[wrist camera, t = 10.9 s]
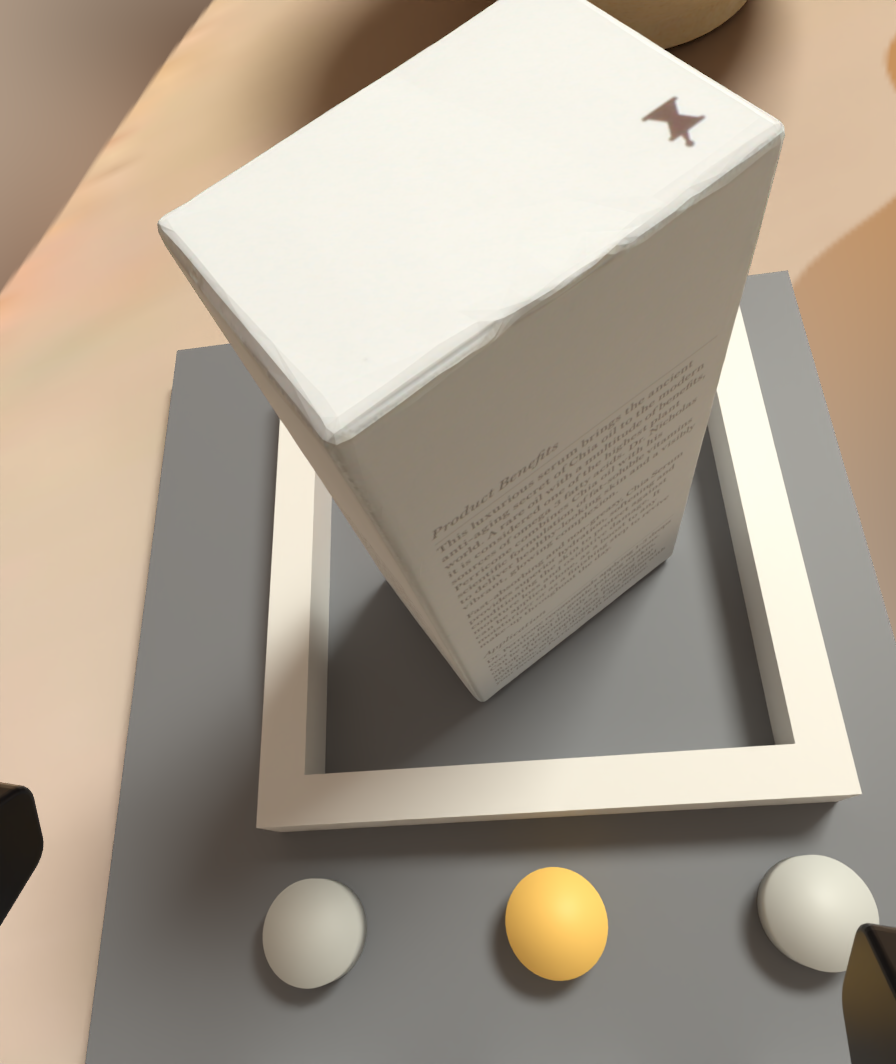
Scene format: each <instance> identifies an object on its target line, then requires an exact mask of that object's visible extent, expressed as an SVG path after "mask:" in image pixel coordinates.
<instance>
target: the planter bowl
mask: <svg viewBox="0 0 896 1064" xmlns="http://www.w3.org/2000/svg"><path fill="white" fill-rule="evenodd" d="M587 1H588V2H590V3H591V4H593V5H595V6H596V7H598V8H599V9H601V10H603V11H604V12H606V13H607V14H609V15H610V16H612V17H614V18H615V19H617V20H618V21H620V22H622V23H623V24H625V25H626V26H628V27H630V28H631V29H633V30H635V31H636V32H638V33H639V34H641V35H643V36H644V37H646V38H647V39H649V40H650V41H652V42H653V43H655V44H656V45H658V46H659V47H661V48H663V49H666V48H670V47H674V46H677V45H680V44H683V43H686V42H689V41H691V40H693V39H696V38H698V37H700V36H702V35H704V34H706V33H708V32H710V31H712V30H713V29H715V28H717V27H718V26H720V25H721V24H723V23H724V22H725V21H727V20H728V19H729V18H731V17H732V16H733V15H734V14H735V13H736V12H737V11H738V10H739V9H740V8H741V7H742V6H743V5H744V4H745V3H746V1H747V0H587Z"/></svg>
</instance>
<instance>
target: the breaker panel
mask: <svg viewBox="0 0 896 1064" xmlns="http://www.w3.org/2000/svg"><path fill="white" fill-rule="evenodd" d="M864 923H873V924H879V925H885V926H891V927H896V642H895V639H894V635H893V632H892V629H891V625H890V622H889V618H888V615H887V611H886V608H885V605H884V601H883V597H882V594H881V591H880V587H879V584H878V580H877V577H876V574H875V570H874V566H873V563H872V560H871V556H870V553H869V549H868V546H867V542H866V539H865V536H864V533H863V529H862V525H861V522H860V518H859V515H858V511H857V508H856V504H855V501H854V498H853V494H852V491H851V487H850V484H849V480H848V477H847V473H846V470H845V467H844V463H843V460H842V456H841V453H840V449H839V446H838V442H837V439H836V436H835V432H834V429H833V425H832V422H831V418H830V415H829V412H828V408H827V405H826V401H825V398H824V394H823V391H822V388H821V384H820V381H819V377H818V374H817V370H816V367H815V363H814V360H813V356H812V353H811V350H810V346H809V343H808V339H807V336H806V332H805V329H804V325H803V322H802V319H801V315H800V312H799V308H798V305H797V301H796V298H795V295H794V291H793V287H792V284H791V281H790V277H789V274H788V271H781V272H773V273H765V274H758V275H750V276H747V280H746V283H745V287H744V290H743V294H742V298H741V301H740V305H739V308H738V312H737V316H736V319H735V323H734V327H733V330H732V334H731V337H730V341H729V345H728V349H727V353H726V357H725V361H724V364H723V367H722V371H721V375H720V379H719V383H718V386H717V390H716V394H715V397H714V401H713V405H712V408H711V412H710V416H709V420H708V423H707V427H706V431H705V434H704V438H703V441H702V445H701V449H700V453H699V456H698V460H697V464H696V468H695V471H694V476H693V479H692V483H691V487H690V491H689V495H688V499H687V503H686V506H685V510H684V514H683V517H682V521H681V524H680V528H679V532H678V535H677V539H676V543H675V546H674V550H673V553H672V555H671V556H670V557H669V558H668V559H666V560H665V561H663V562H662V563H661V564H659V565H658V566H657V567H656V568H654V569H653V570H652V571H651V572H649V573H648V574H647V575H645V576H644V577H643V578H642V579H640V580H639V581H638V582H637V583H635V584H634V585H633V586H631V587H630V588H629V589H628V590H626V591H625V592H624V593H623V594H621V595H620V596H619V597H618V598H616V599H615V600H614V601H613V602H611V603H610V604H609V605H608V606H606V607H605V608H604V609H602V610H601V611H600V612H599V613H597V614H596V615H595V616H593V617H592V618H591V619H589V620H588V621H587V622H586V623H584V624H583V625H582V626H581V627H580V628H578V629H577V630H576V631H575V632H573V633H572V634H571V635H569V636H568V637H567V638H565V639H564V640H563V641H562V642H560V643H559V644H558V645H556V646H555V647H554V648H553V649H551V650H550V651H549V652H548V653H546V654H545V655H544V656H543V657H541V658H540V659H539V660H537V661H536V662H535V663H533V664H532V665H531V666H530V667H528V668H527V669H526V670H524V671H523V672H522V673H521V674H519V675H518V676H517V677H516V678H514V679H513V680H512V681H510V682H509V683H508V684H507V685H505V686H504V687H503V688H501V689H500V690H499V691H498V692H496V693H495V694H494V695H493V696H491V697H490V698H489V699H488V700H486V701H485V702H480V701H478V700H477V699H476V698H475V697H474V696H473V695H472V694H471V692H470V691H469V690H468V689H467V687H466V686H465V685H464V683H463V682H462V681H461V679H460V678H459V677H458V675H457V674H456V673H455V671H454V670H453V669H452V667H451V666H450V665H449V663H448V662H447V661H446V659H445V658H444V657H443V655H442V654H441V653H440V651H439V650H438V649H437V647H436V646H435V645H434V643H433V642H432V641H431V640H430V638H429V637H428V636H427V634H426V633H425V632H424V630H423V629H422V628H421V626H420V625H419V624H418V622H417V621H416V620H415V618H414V617H413V616H412V614H411V613H410V612H409V610H408V609H407V607H406V606H405V605H404V603H403V602H402V601H401V599H400V598H399V597H398V595H397V594H396V592H395V591H394V590H393V588H392V587H391V586H390V584H389V583H388V581H387V580H386V579H385V577H384V576H383V575H382V573H381V572H380V570H379V569H378V567H377V565H376V564H375V562H374V561H373V559H372V558H371V556H370V554H369V553H368V551H367V550H366V548H365V547H364V545H363V544H362V542H361V541H360V539H359V538H358V536H357V535H356V533H355V532H354V530H353V529H352V527H351V526H350V524H349V522H348V521H347V519H346V518H345V516H344V515H343V513H342V512H341V510H340V509H339V507H338V506H337V504H336V503H335V501H334V500H333V498H332V496H331V495H330V493H329V492H328V490H327V489H326V487H325V486H324V484H323V483H322V481H321V480H320V478H319V477H318V475H317V474H316V472H315V471H314V469H313V468H312V466H311V464H310V463H309V462H308V460H307V459H306V457H305V456H304V454H303V453H302V451H301V450H300V448H299V447H298V445H297V444H296V442H295V441H294V439H293V438H292V436H291V434H290V433H289V431H288V430H287V428H286V427H285V425H284V424H283V423H282V421H281V420H280V418H279V417H278V415H277V414H276V412H275V411H274V409H273V408H272V406H271V405H270V403H269V402H268V400H267V398H266V397H265V395H264V394H263V392H262V391H261V389H260V388H259V386H258V385H257V383H256V382H255V380H254V379H253V377H252V376H251V374H250V373H249V371H248V370H247V368H246V367H245V365H244V364H243V362H242V361H241V359H240V358H239V356H238V355H237V353H236V352H235V350H234V349H233V347H232V346H231V344H224V345H216V346H208V347H201V348H193V349H185V350H178V351H177V355H176V363H175V371H174V379H173V386H172V394H171V402H170V410H169V417H168V425H167V433H166V441H165V448H164V456H163V464H162V472H161V480H160V487H159V495H158V503H157V511H156V518H155V526H154V534H153V542H152V549H151V557H150V565H149V573H148V580H147V588H146V596H145V604H144V612H143V619H142V627H141V635H140V643H139V650H138V658H137V666H136V674H135V681H134V689H133V697H132V705H131V713H130V720H129V728H128V736H127V744H126V751H125V759H124V767H123V775H122V782H121V790H120V798H119V806H118V813H117V821H116V829H115V837H114V845H113V852H112V860H111V868H110V876H109V883H108V891H107V899H106V907H105V914H104V922H103V930H102V938H101V945H100V953H99V961H98V969H97V977H96V984H95V992H94V1000H93V1008H92V1015H91V1023H90V1031H89V1039H88V1046H87V1054H86V1062H85V1064H851V1059H850V1053H849V1046H848V1040H847V1034H846V1028H845V1022H844V1016H843V1009H842V986H843V981H844V977H845V973H846V969H847V965H848V961H849V957H850V953H851V949H852V945H853V941H854V937H855V934H856V931H857V929H858V928H859V926H860V925H862V924H864Z"/></svg>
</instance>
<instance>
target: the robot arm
mask: <svg viewBox="0 0 896 1064" xmlns="http://www.w3.org/2000/svg"><path fill="white" fill-rule="evenodd" d="M42 851H43V836H42V832H41V827H40V823H39V818H38V814H37V810H36V805H35V801H34V797H33V794H32V792H31V791H30V790H29V789H28V788H26V787H24V786H20V785H14V784H8V783H2V782H0V925H1V924H2V922H3V921H4V919H5V917H6V916H7V914H8V912H9V911H10V909H11V907H12V906H13V904H14V903H15V901H16V899H17V898H18V896H19V894H20V893H21V891H22V889H23V888H24V886H25V885H26V883H27V881H28V880H29V878H30V876H31V875H32V873H33V871H34V870H35V868H36V867H37V865H38V863H39V860H40V858H41V855H42ZM842 1009H843V1016H844V1022H845V1028H846V1034H847V1040H848V1046H849V1053H850V1059H851V1064H896V927H891V926H885V925H879V924H873V923H864V924H862V925H860V926H859V928H858V929H857V931H856V934H855V937H854V941H853V945H852V949H851V953H850V957H849V961H848V965H847V969H846V973H845V977H844V981H843V986H842Z"/></svg>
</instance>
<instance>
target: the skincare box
mask: <svg viewBox="0 0 896 1064" xmlns="http://www.w3.org/2000/svg"><path fill="white" fill-rule="evenodd" d="M784 136H785V133H784V126H783V124H782V123H781V121H779V120H777V119H776V118H774V117H773V116H771V115H770V114H768V113H766V112H765V111H763V110H762V109H760V108H758V107H757V106H755V105H753V104H752V103H750V102H748V101H747V100H745V99H743V98H742V97H740V96H738V95H737V94H735V93H733V92H732V91H730V90H729V89H727V88H725V87H724V86H722V85H720V84H719V83H717V82H716V81H714V80H712V79H711V78H709V77H707V76H706V75H704V74H703V73H701V72H699V71H698V70H696V69H694V68H693V67H691V66H690V65H688V64H686V63H685V62H683V61H682V60H680V59H678V58H677V57H675V56H674V55H672V54H670V53H669V52H667V51H666V50H664V49H663V48H661V47H659V46H658V45H656V44H655V43H653V42H652V41H650V40H649V39H647V38H646V37H644V36H643V35H641V34H639V33H638V32H636V31H635V30H633V29H631V28H630V27H628V26H626V25H625V24H623V23H622V22H620V21H618V20H617V19H615V18H614V17H612V16H610V15H609V14H607V13H606V12H604V11H603V10H601V9H599V8H598V7H596V6H595V5H593V4H591V3H590V2H588V1H587V0H498V1H496V2H495V3H493V4H492V5H490V6H489V7H488V8H486V9H485V10H483V11H482V12H480V13H479V14H477V15H476V16H474V17H473V18H471V19H470V20H468V21H467V22H465V23H464V24H463V25H461V26H460V27H458V28H457V29H455V30H454V31H452V32H451V33H449V34H448V35H446V36H445V37H443V38H442V39H440V40H439V41H437V42H436V43H434V44H432V45H431V46H429V47H427V48H426V49H424V50H423V51H421V52H420V53H418V54H417V55H415V56H414V57H412V58H411V59H409V60H407V61H406V62H404V63H403V64H401V65H400V66H398V67H397V68H395V69H394V70H392V71H391V72H389V73H388V74H386V75H384V76H383V77H381V78H380V79H378V80H376V81H375V82H373V83H372V84H370V85H368V86H367V87H365V88H364V89H362V90H360V91H359V92H357V93H356V94H354V95H352V96H351V97H349V98H348V99H346V100H344V101H343V102H341V103H340V104H338V105H336V106H335V107H333V108H332V109H330V110H329V111H327V112H325V113H324V114H322V115H321V116H319V117H318V118H316V119H315V120H313V121H312V122H310V123H309V124H307V125H306V126H304V127H302V128H301V129H299V130H298V131H296V132H295V133H293V134H292V135H290V136H289V137H287V138H286V139H284V140H282V141H281V142H279V143H278V144H276V145H275V146H273V147H272V148H270V149H268V150H267V151H265V152H264V153H262V154H261V155H259V156H258V157H256V158H255V159H253V160H252V161H250V162H249V163H247V164H246V165H244V166H242V167H241V168H239V169H238V170H236V171H234V172H233V173H231V174H230V175H228V176H226V177H225V178H223V179H222V180H220V181H219V182H217V183H215V184H214V185H212V186H211V187H209V188H208V189H206V190H205V191H203V192H202V193H200V194H199V195H197V196H196V197H194V198H193V199H191V200H190V201H188V202H187V203H185V204H183V205H181V206H180V207H178V208H176V209H174V210H173V211H171V212H169V213H167V214H166V215H164V216H163V217H162V218H161V219H160V220H159V221H158V232H159V234H160V236H161V238H162V240H163V242H164V244H165V246H166V247H167V249H168V250H169V252H170V254H171V255H172V257H173V258H174V260H175V261H176V263H177V264H178V266H179V267H180V269H181V270H182V272H183V273H184V275H185V276H186V278H187V279H188V281H189V282H190V284H191V285H192V287H193V289H194V290H195V292H196V293H197V295H198V296H199V298H200V299H201V301H202V302H203V304H204V305H205V307H206V308H207V310H208V311H209V313H210V314H211V316H212V317H213V319H214V320H215V322H216V323H217V325H218V326H219V328H220V329H221V331H222V332H223V334H224V335H225V337H226V338H227V340H228V341H229V343H230V344H231V346H232V347H233V349H234V350H235V352H236V353H237V355H238V356H239V358H240V359H241V361H242V362H243V364H244V365H245V367H246V368H247V370H248V371H249V373H250V374H251V376H252V377H253V379H254V380H255V382H256V383H257V385H258V386H259V388H260V389H261V391H262V392H263V394H264V395H265V397H266V398H267V400H268V402H269V403H270V405H271V406H272V408H273V409H274V411H275V412H276V414H277V415H278V417H279V418H280V420H281V421H282V423H283V424H284V425H285V427H286V428H287V430H288V431H289V433H290V434H291V436H292V438H293V439H294V441H295V442H296V444H297V445H298V447H299V448H300V450H301V451H302V453H303V454H304V456H305V457H306V459H307V460H308V462H309V463H310V464H311V466H312V468H313V469H314V471H315V472H316V474H317V475H318V477H319V478H320V480H321V481H322V483H323V484H324V486H325V487H326V489H327V490H328V492H329V493H330V495H331V496H332V498H333V500H334V501H335V503H336V504H337V506H338V507H339V509H340V510H341V512H342V513H343V515H344V516H345V518H346V519H347V521H348V522H349V524H350V526H351V527H352V529H353V530H354V532H355V533H356V535H357V536H358V538H359V539H360V541H361V542H362V544H363V545H364V547H365V548H366V550H367V551H368V553H369V554H370V556H371V558H372V559H373V561H374V562H375V564H376V565H377V567H378V569H379V570H380V572H381V573H382V575H383V576H384V577H385V579H386V580H387V581H388V583H389V584H390V586H391V587H392V588H393V590H394V591H395V592H396V594H397V595H398V597H399V598H400V599H401V601H402V602H403V603H404V605H405V606H406V607H407V609H408V610H409V612H410V613H411V614H412V616H413V617H414V618H415V620H416V621H417V622H418V624H419V625H420V626H421V628H422V629H423V630H424V632H425V633H426V634H427V636H428V637H429V638H430V640H431V641H432V642H433V643H434V645H435V646H436V647H437V649H438V650H439V651H440V653H441V654H442V655H443V657H444V658H445V659H446V661H447V662H448V663H449V665H450V666H451V667H452V669H453V670H454V671H455V673H456V674H457V675H458V677H459V678H460V679H461V681H462V682H463V683H464V685H465V686H466V687H467V689H468V690H469V691H470V692H471V694H472V695H473V696H474V697H475V698H476V699H477V700H478V701H480V702H485V701H486V700H488V699H489V698H490V697H491V696H493V695H494V694H495V693H496V692H498V691H499V690H500V689H501V688H503V687H504V686H505V685H507V684H508V683H509V682H510V681H512V680H513V679H514V678H516V677H517V676H518V675H519V674H521V673H522V672H523V671H524V670H526V669H527V668H528V667H530V666H531V665H532V664H533V663H535V662H536V661H537V660H539V659H540V658H541V657H543V656H544V655H545V654H546V653H548V652H549V651H550V650H551V649H553V648H554V647H555V646H556V645H558V644H559V643H560V642H562V641H563V640H564V639H565V638H567V637H568V636H569V635H571V634H572V633H573V632H575V631H576V630H577V629H578V628H580V627H581V626H582V625H583V624H584V623H586V622H587V621H588V620H589V619H591V618H592V617H593V616H595V615H596V614H597V613H599V612H600V611H601V610H602V609H604V608H605V607H606V606H608V605H609V604H610V603H611V602H613V601H614V600H615V599H616V598H618V597H619V596H620V595H621V594H623V593H624V592H625V591H626V590H628V589H629V588H630V587H631V586H633V585H634V584H635V583H637V582H638V581H639V580H640V579H642V578H643V577H644V576H645V575H647V574H648V573H649V572H651V571H652V570H653V569H654V568H656V567H657V566H658V565H659V564H661V563H662V562H663V561H665V560H666V559H668V558H669V557H670V556H671V555H672V553H673V550H674V546H675V543H676V539H677V535H678V532H679V528H680V524H681V521H682V517H683V514H684V510H685V506H686V503H687V499H688V495H689V491H690V487H691V483H692V479H693V476H694V471H695V468H696V464H697V460H698V456H699V453H700V449H701V445H702V441H703V438H704V434H705V431H706V427H707V423H708V420H709V416H710V412H711V408H712V405H713V401H714V397H715V394H716V390H717V386H718V383H719V379H720V375H721V371H722V367H723V364H724V361H725V357H726V353H727V349H728V345H729V341H730V337H731V334H732V330H733V327H734V323H735V319H736V316H737V312H738V308H739V305H740V301H741V298H742V294H743V290H744V287H745V283H746V280H747V276H748V273H749V269H750V266H751V262H752V258H753V255H754V251H755V247H756V244H757V240H758V236H759V232H760V228H761V224H762V220H763V217H764V213H765V209H766V205H767V202H768V198H769V194H770V190H771V187H772V183H773V179H774V175H775V171H776V167H777V164H778V160H779V156H780V152H781V148H782V144H783V140H784Z"/></svg>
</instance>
